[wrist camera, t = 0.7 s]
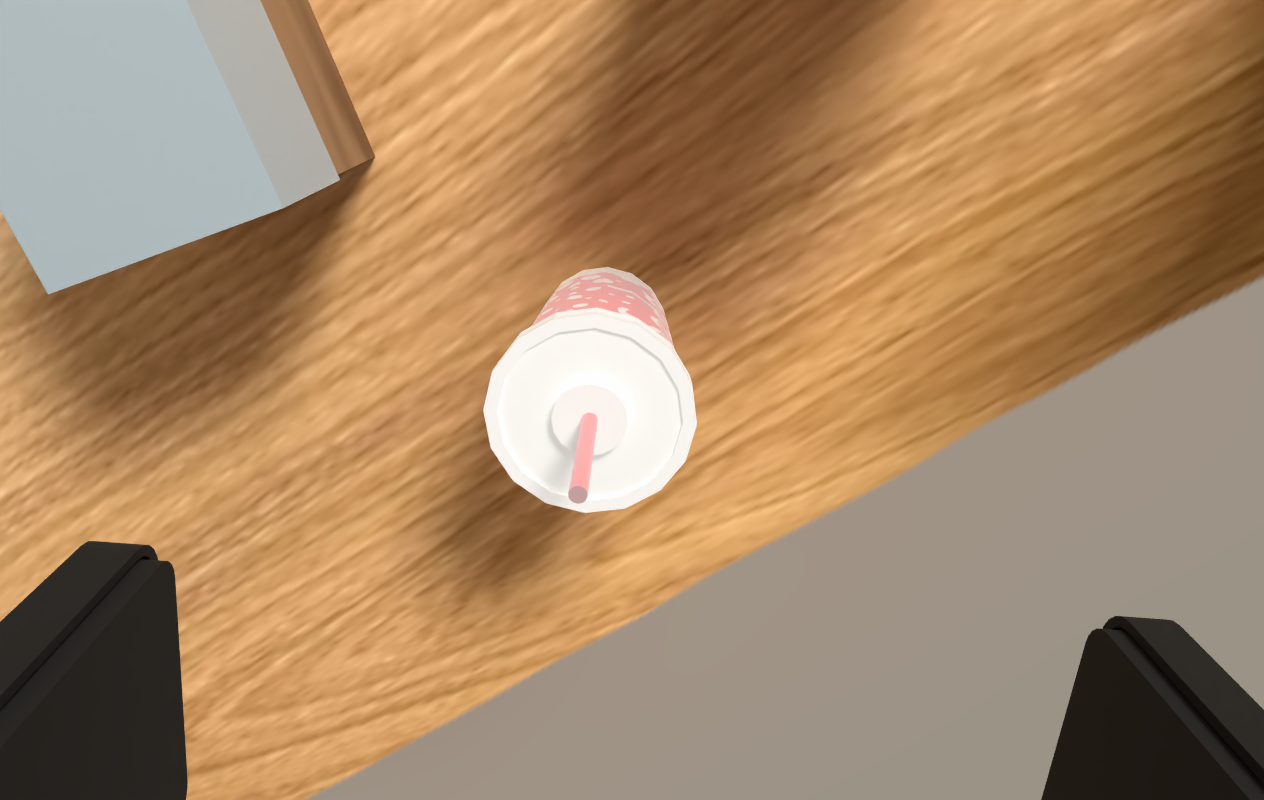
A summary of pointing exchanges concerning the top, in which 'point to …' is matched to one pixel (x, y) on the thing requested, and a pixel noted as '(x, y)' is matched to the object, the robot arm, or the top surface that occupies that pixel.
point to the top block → (144, 129)
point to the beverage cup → (592, 397)
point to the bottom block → (319, 82)
